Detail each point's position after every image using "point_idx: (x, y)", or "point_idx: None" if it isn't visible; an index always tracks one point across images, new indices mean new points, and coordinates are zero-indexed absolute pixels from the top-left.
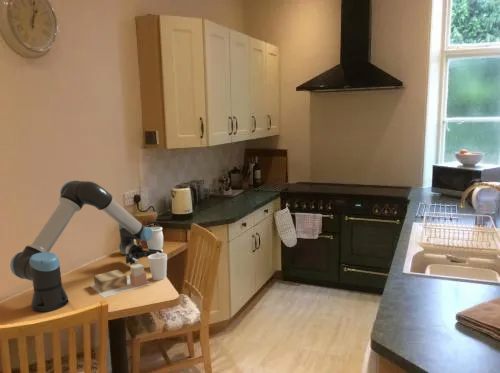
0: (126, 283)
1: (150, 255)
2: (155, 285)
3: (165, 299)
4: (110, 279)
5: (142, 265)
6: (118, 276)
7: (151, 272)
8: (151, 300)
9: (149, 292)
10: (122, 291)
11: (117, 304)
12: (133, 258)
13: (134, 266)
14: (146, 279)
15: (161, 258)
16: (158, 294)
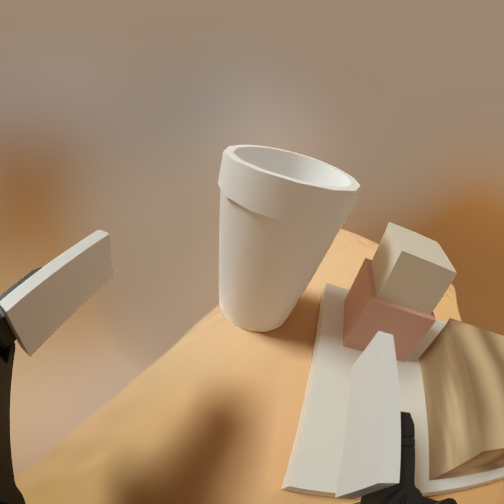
0: (427, 351)
1: (321, 185)
2: (306, 291)
3: (341, 230)
4: (501, 336)
5: (393, 228)
6: (479, 337)
7: (314, 273)
8: (371, 249)
9: (356, 276)
10: (441, 324)
11: (448, 298)
12: (394, 450)
13: (434, 252)
14: (353, 284)
15: (300, 157)
16: (341, 251)
